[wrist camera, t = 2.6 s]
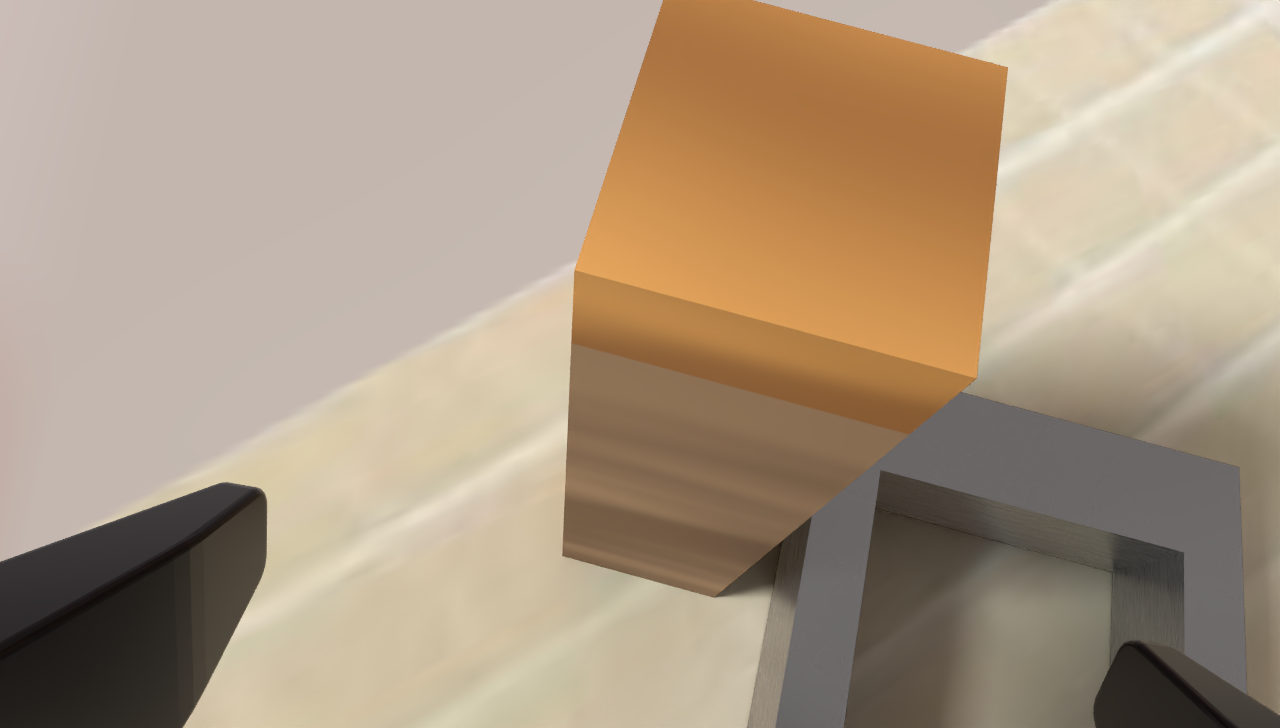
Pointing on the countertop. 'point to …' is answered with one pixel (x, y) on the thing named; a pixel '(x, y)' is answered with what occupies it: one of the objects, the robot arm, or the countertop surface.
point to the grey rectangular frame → (1015, 543)
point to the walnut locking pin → (770, 282)
